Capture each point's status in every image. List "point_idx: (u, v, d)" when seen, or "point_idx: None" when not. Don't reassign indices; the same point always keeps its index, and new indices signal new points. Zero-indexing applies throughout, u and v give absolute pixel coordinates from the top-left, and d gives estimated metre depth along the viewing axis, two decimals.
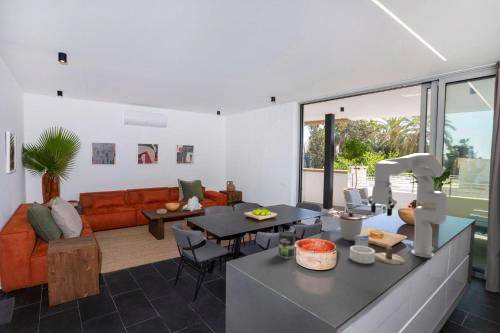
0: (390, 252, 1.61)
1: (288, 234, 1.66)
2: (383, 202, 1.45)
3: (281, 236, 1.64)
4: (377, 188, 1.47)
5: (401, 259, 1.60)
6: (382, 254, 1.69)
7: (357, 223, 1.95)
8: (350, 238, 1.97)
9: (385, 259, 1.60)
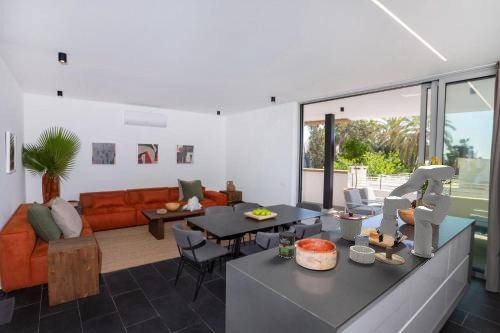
0: (390, 252, 1.61)
1: (288, 234, 1.66)
2: (390, 234, 1.59)
3: (281, 236, 1.64)
4: (385, 221, 1.62)
5: (401, 259, 1.60)
6: (382, 254, 1.69)
7: (357, 223, 1.95)
8: (350, 238, 1.97)
9: (385, 259, 1.60)
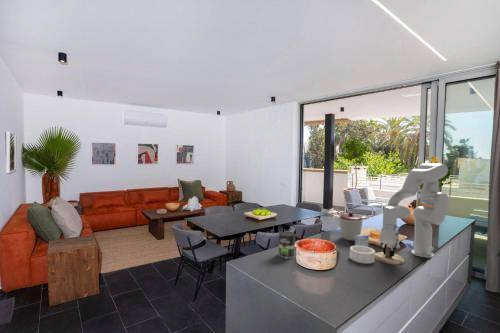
0: None
1: (288, 234, 1.66)
2: (391, 243, 1.60)
3: (281, 236, 1.64)
4: (385, 230, 1.62)
5: (401, 258, 1.60)
6: (382, 253, 1.69)
7: (357, 223, 1.95)
8: (350, 238, 1.97)
9: (385, 258, 1.60)
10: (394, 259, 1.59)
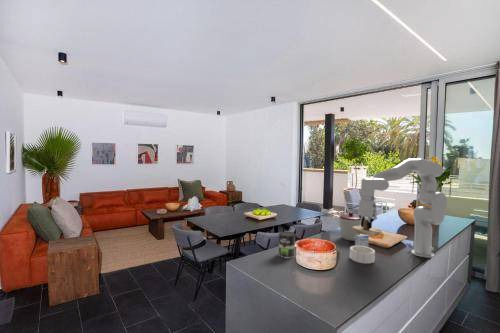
0: None
1: (288, 234, 1.66)
2: (368, 215, 1.59)
3: (281, 236, 1.64)
4: (363, 202, 1.61)
5: (378, 230, 1.60)
6: (360, 227, 1.68)
7: (357, 223, 1.95)
8: (350, 238, 1.97)
9: (362, 230, 1.59)
10: (371, 231, 1.58)
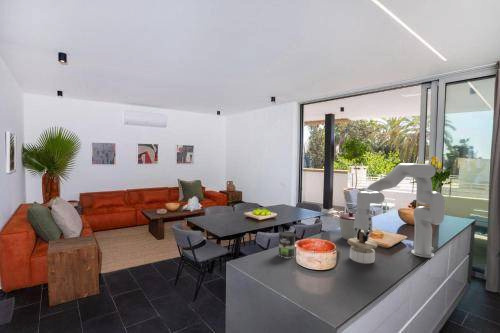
0: None
1: (288, 234, 1.66)
2: (364, 228, 1.59)
3: (281, 236, 1.64)
4: (359, 215, 1.61)
5: (374, 243, 1.60)
6: (356, 239, 1.68)
7: None
8: None
9: (358, 243, 1.59)
10: (367, 244, 1.59)
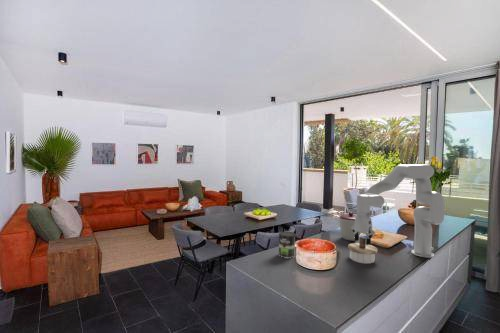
0: (363, 242, 1.61)
1: (288, 234, 1.66)
2: (364, 231, 1.59)
3: (281, 236, 1.64)
4: (359, 218, 1.61)
5: (374, 249, 1.60)
6: (356, 244, 1.68)
7: None
8: (350, 238, 1.97)
9: (358, 249, 1.60)
10: (367, 249, 1.59)
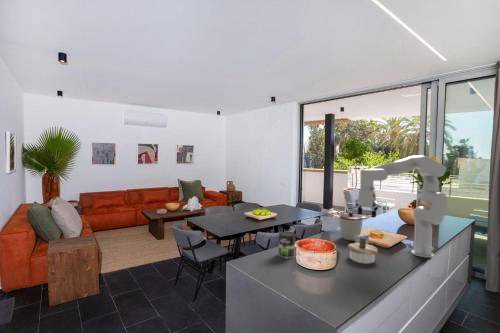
0: (363, 242, 1.61)
1: (288, 234, 1.66)
2: (368, 205, 1.61)
3: (281, 236, 1.64)
4: (363, 192, 1.64)
5: (374, 249, 1.60)
6: (356, 244, 1.68)
7: (357, 223, 1.95)
8: (350, 238, 1.97)
9: (358, 249, 1.60)
10: (367, 249, 1.59)
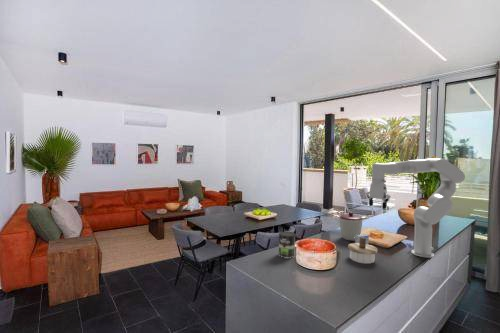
0: (363, 242, 1.61)
1: (288, 234, 1.66)
2: (379, 196, 1.72)
3: (281, 236, 1.64)
4: (374, 185, 1.74)
5: (374, 249, 1.60)
6: (356, 244, 1.68)
7: (357, 223, 1.95)
8: (350, 238, 1.97)
9: (358, 249, 1.60)
10: (367, 249, 1.59)
